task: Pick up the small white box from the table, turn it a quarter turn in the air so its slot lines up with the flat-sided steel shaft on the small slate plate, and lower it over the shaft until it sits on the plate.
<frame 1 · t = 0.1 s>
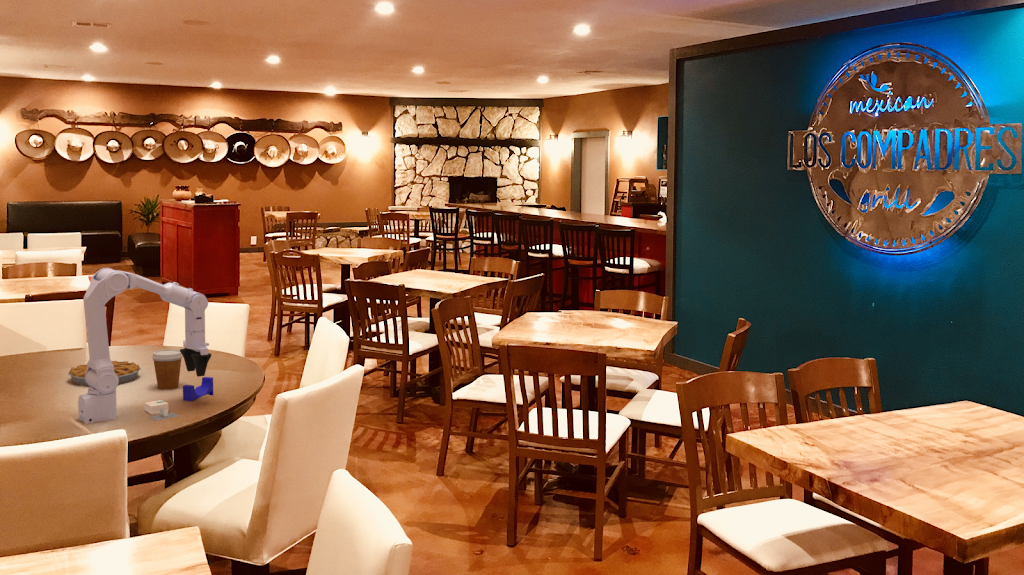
hand: (195, 373, 249), 10 cm above the table, tool pointing down, fingers open, 7 cm apart
small white box: (156, 414, 239), on the table
shaft: (163, 416, 234), resting on base plate
disposable coffee cup: (168, 387, 269), on the table
blue u-shaped cradle: (196, 400, 256), on the table
base plate: (164, 420, 234), on the table
pie: (105, 380, 276), on the table
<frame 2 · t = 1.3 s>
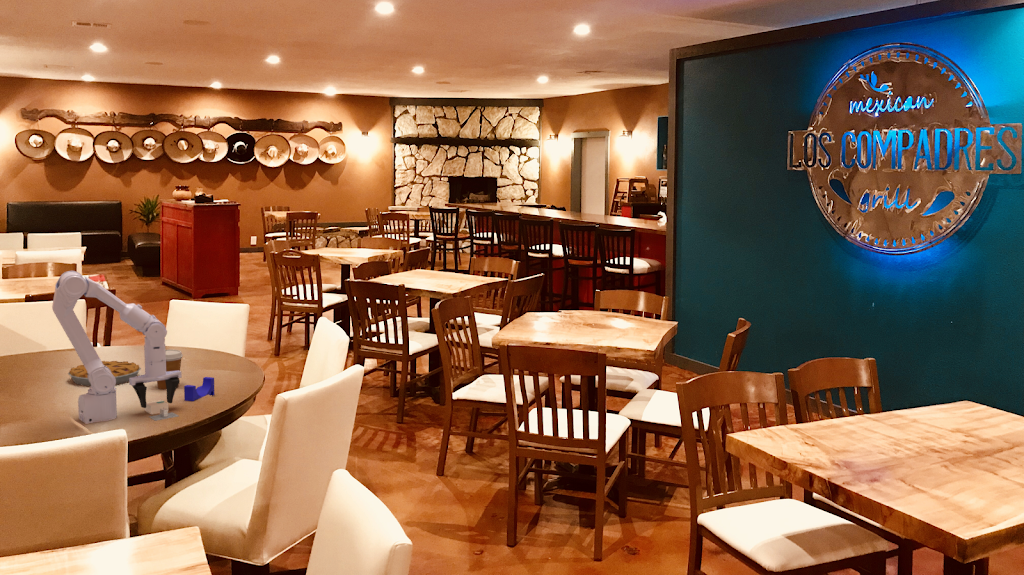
hand: (156, 404, 238), 3 cm above the table, tool pointing down, fingers open, 7 cm apart
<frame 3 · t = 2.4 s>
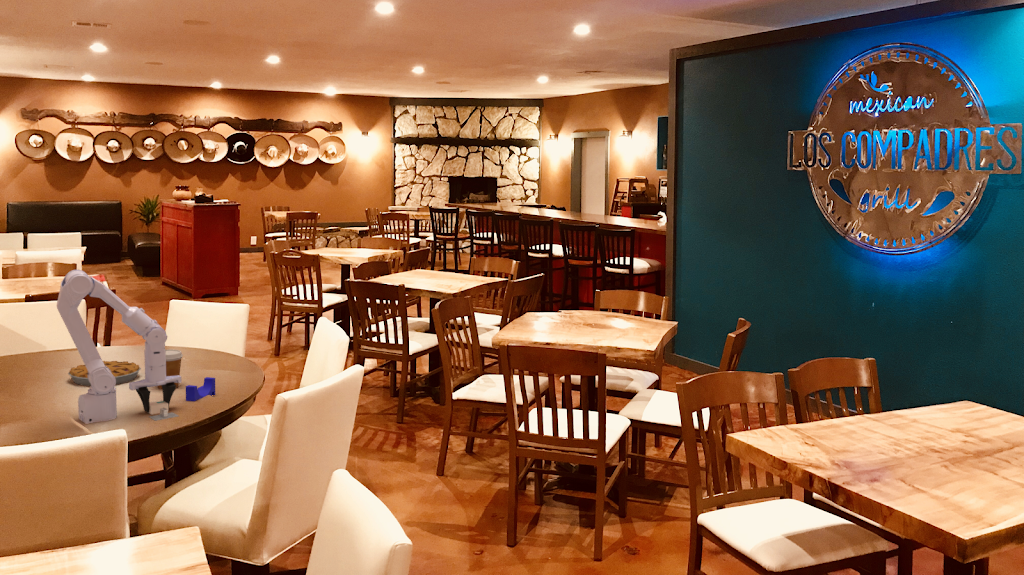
hand: (156, 409, 239), 2 cm above the table, tool pointing down, fingers closed on small white box, 5 cm apart
small white box: (156, 414, 239), on the table, touching gripper
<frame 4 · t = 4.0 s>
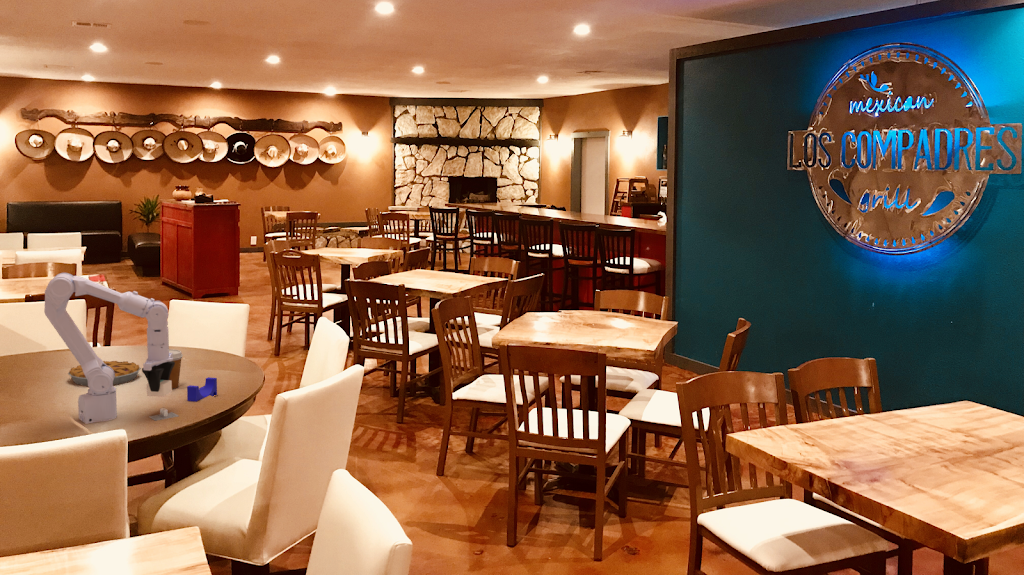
hand: (159, 388, 236), 9 cm above the table, tool pointing down, fingers closed on small white box, 5 cm apart
small white box: (159, 394, 236), point 7 cm above the table, touching gripper
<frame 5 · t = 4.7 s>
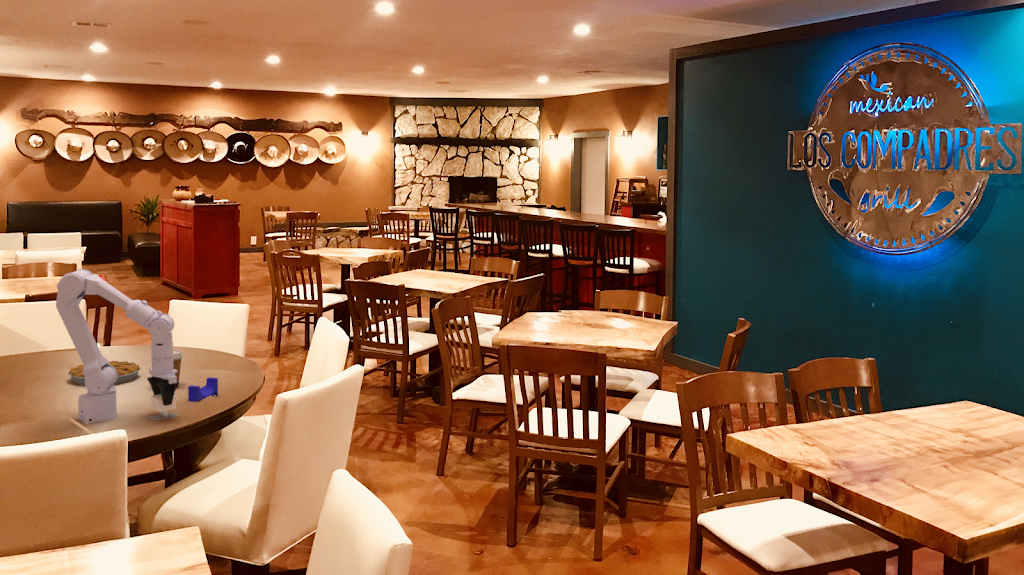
hand: (163, 402, 233), 5 cm above the table, tool pointing down, fingers closed on small white box, 5 cm apart
small white box: (163, 408, 233), point 4 cm above the table, touching gripper
when the fingers open (4 cm above the table, at t = 5.5 s): small white box stays where it is, resting on base plate.
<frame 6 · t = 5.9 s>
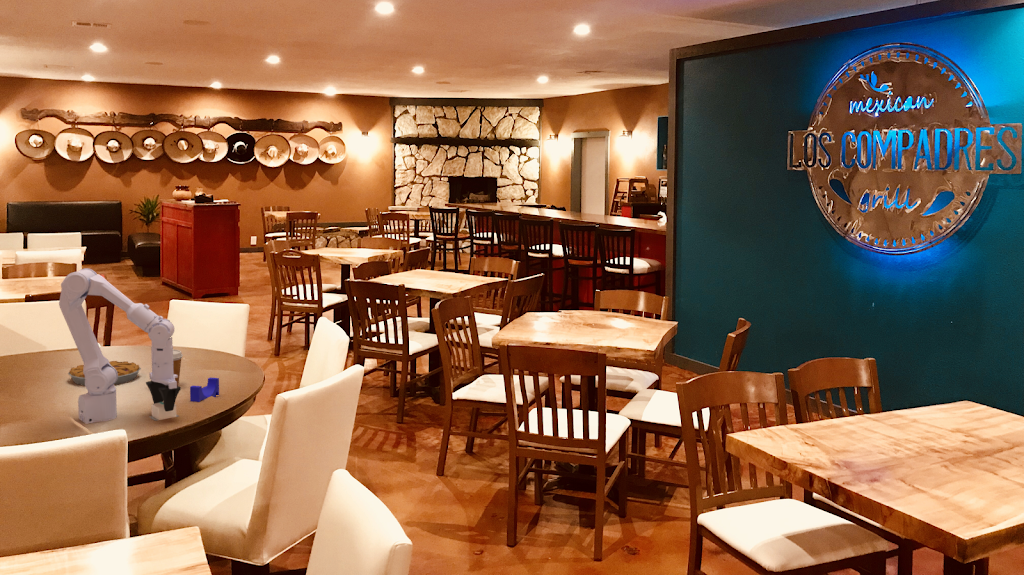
hand: (163, 407, 233), 4 cm above the table, tool pointing down, fingers open, 7 cm apart
small white box: (164, 416, 234), point 1 cm above the table, touching base plate
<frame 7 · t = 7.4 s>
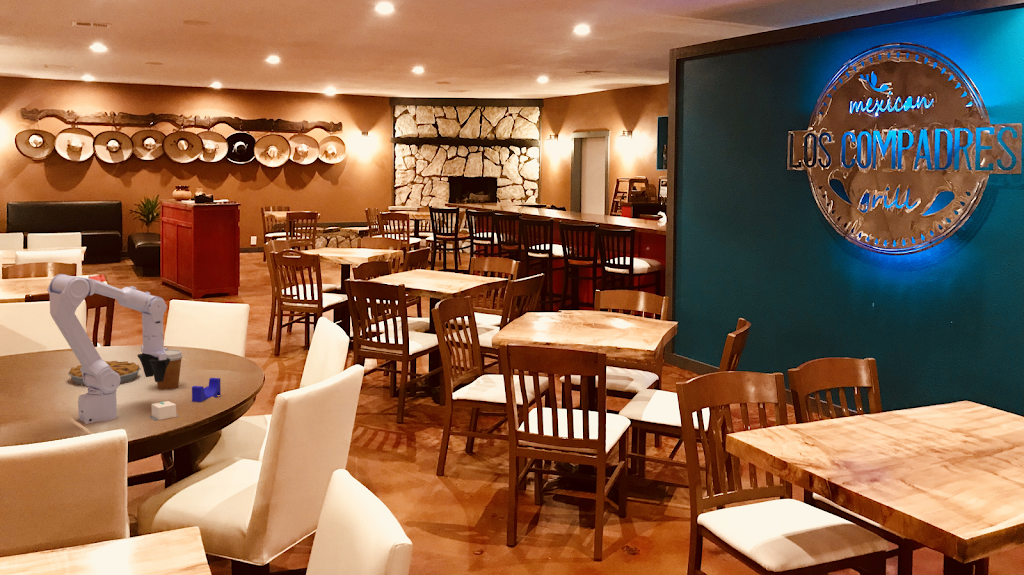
hand: (154, 379, 243), 9 cm above the table, tool pointing down, fingers open, 7 cm apart
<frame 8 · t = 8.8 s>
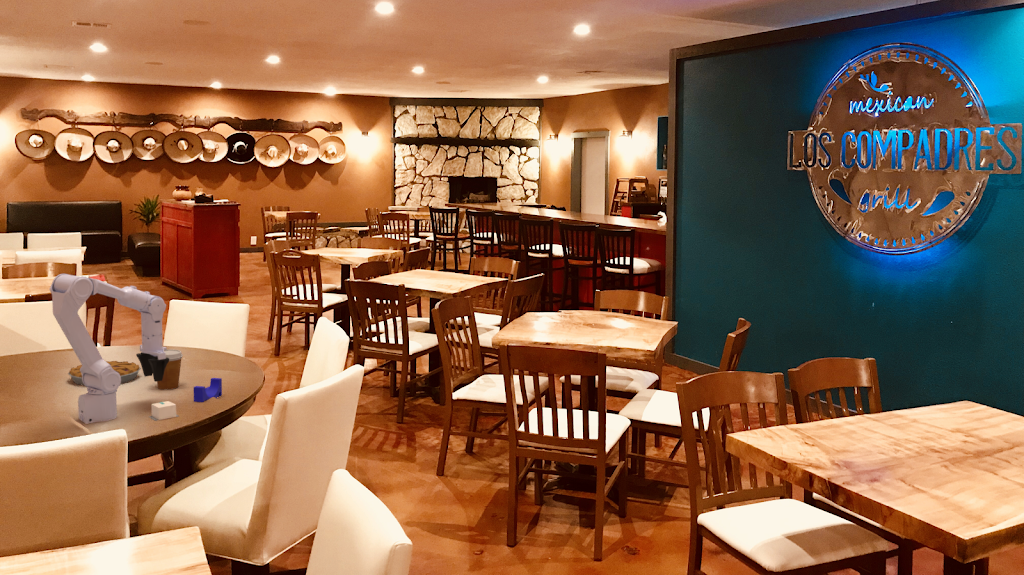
hand: (153, 378, 244), 9 cm above the table, tool pointing down, fingers open, 7 cm apart
at the end: small white box 0.0 cm from the target spot, point 1.2 cm above the table; small white box tilted 0°; the gripper is holding nothing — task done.
